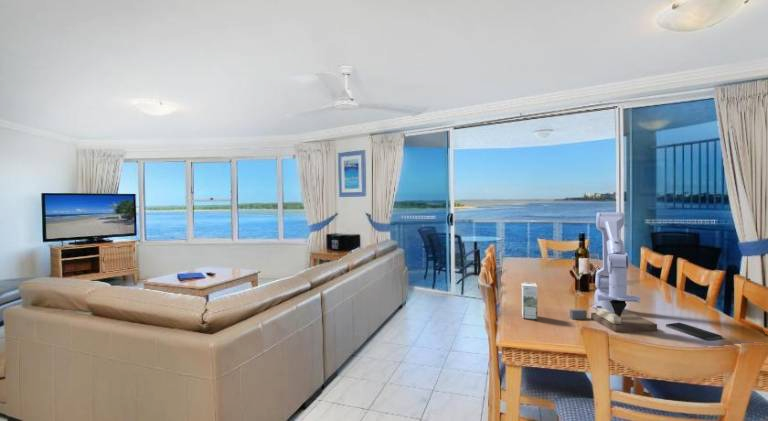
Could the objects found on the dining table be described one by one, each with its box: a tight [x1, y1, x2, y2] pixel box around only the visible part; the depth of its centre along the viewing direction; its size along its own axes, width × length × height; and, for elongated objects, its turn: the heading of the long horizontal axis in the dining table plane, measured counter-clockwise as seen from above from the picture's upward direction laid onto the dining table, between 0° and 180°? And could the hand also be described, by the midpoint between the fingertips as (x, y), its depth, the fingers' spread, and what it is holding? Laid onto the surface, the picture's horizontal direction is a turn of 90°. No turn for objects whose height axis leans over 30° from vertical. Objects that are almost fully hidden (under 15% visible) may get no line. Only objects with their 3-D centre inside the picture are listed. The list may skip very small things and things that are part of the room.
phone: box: [665, 322, 723, 342], centre depth 133 cm, size 8×1×15 cm
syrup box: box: [521, 282, 538, 321], centre depth 152 cm, size 6×6×14 cm
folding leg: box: [595, 306, 621, 324], centre depth 142 cm, size 13×2×3 cm, turn 178°
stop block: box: [569, 308, 588, 320], centre depth 150 cm, size 2×6×4 cm, turn 91°
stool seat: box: [590, 311, 658, 333], centre depth 142 cm, size 15×16×2 cm
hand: (617, 319), depth 138 cm, fingers closed
